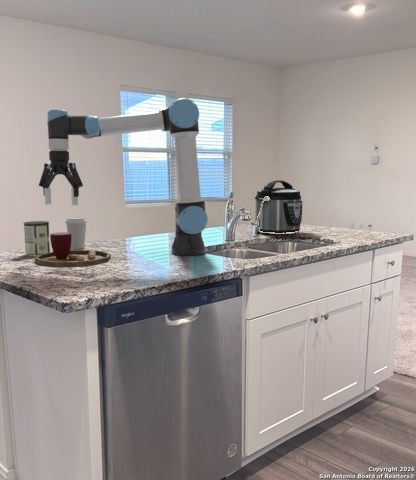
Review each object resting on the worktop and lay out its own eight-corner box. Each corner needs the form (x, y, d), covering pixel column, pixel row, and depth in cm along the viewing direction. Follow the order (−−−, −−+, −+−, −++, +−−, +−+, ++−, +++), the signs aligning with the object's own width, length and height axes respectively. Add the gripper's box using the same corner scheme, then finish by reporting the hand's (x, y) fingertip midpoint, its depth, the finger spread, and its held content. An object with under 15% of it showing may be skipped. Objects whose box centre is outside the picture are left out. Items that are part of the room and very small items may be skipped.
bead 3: (97, 260, 187) (96, 252, 187) (92, 261, 185) (92, 253, 184) (91, 259, 189) (90, 252, 188) (86, 260, 186) (85, 253, 186)
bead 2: (97, 257, 193) (97, 250, 192) (92, 258, 190) (92, 251, 190) (91, 257, 194) (91, 249, 194) (86, 258, 192) (86, 250, 191)
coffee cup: (76, 253, 211) (75, 219, 209) (61, 251, 216) (60, 218, 214) (92, 250, 219) (91, 217, 217) (77, 248, 224) (76, 216, 222)
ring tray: (124, 260, 195) (123, 252, 194) (77, 272, 170) (77, 264, 169) (70, 254, 207) (70, 247, 206) (20, 265, 182) (19, 257, 181)
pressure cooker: (261, 236, 271) (262, 180, 267) (247, 231, 299) (247, 180, 294) (310, 235, 277) (312, 180, 273) (292, 230, 305) (293, 180, 300)
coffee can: (35, 252, 213) (34, 220, 211) (55, 253, 210) (53, 221, 208) (19, 255, 204) (18, 222, 202) (39, 257, 200) (38, 223, 198)
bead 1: (86, 262, 183) (85, 254, 182) (80, 263, 180) (80, 255, 179) (79, 261, 184) (79, 254, 183) (74, 262, 181) (74, 255, 181)
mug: (43, 258, 191) (42, 233, 190) (59, 255, 197) (59, 231, 196) (59, 261, 185) (58, 235, 184) (76, 258, 191) (75, 233, 190)
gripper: (90, 150, 185) (92, 205, 188) (41, 151, 195) (44, 203, 198) (77, 149, 178) (80, 206, 181) (27, 150, 189) (30, 204, 191)
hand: (61, 204), depth 190 cm, fingers open, 13 cm apart
